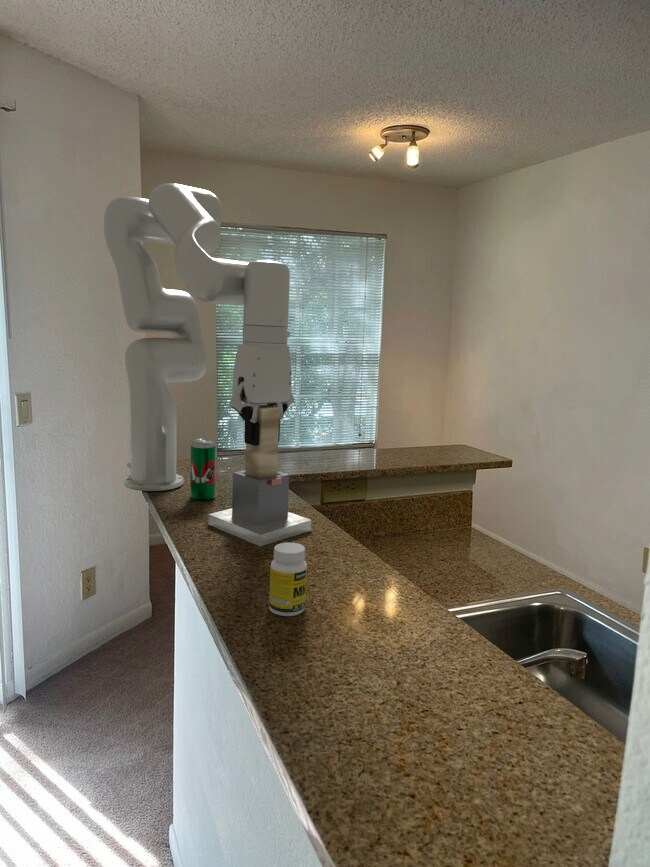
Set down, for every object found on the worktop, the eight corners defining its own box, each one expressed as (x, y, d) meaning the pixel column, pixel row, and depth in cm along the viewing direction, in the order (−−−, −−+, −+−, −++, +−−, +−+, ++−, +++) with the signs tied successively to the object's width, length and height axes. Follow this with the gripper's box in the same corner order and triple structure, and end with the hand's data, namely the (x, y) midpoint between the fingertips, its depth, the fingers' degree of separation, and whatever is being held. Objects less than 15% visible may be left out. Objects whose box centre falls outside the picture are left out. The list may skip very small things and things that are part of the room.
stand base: (208, 524, 112) (209, 470, 110) (259, 511, 121) (260, 461, 119) (260, 546, 103) (261, 487, 101) (310, 530, 111) (313, 476, 109)
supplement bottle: (296, 620, 78) (299, 557, 77) (262, 612, 80) (264, 550, 78) (310, 604, 83) (313, 544, 81) (278, 597, 84) (280, 538, 83)
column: (243, 495, 110) (245, 405, 107) (261, 491, 113) (264, 404, 111) (259, 500, 108) (262, 409, 105) (277, 496, 111) (280, 407, 108)
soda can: (218, 495, 130) (219, 439, 128) (211, 502, 125) (212, 444, 123) (194, 493, 130) (195, 437, 128) (186, 500, 125) (187, 442, 123)
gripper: (285, 336, 114) (282, 434, 117) (211, 334, 102) (209, 444, 105) (315, 338, 109) (310, 441, 112) (241, 337, 97) (238, 452, 100)
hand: (262, 441), depth 109 cm, fingers closed on column, 4 cm apart
